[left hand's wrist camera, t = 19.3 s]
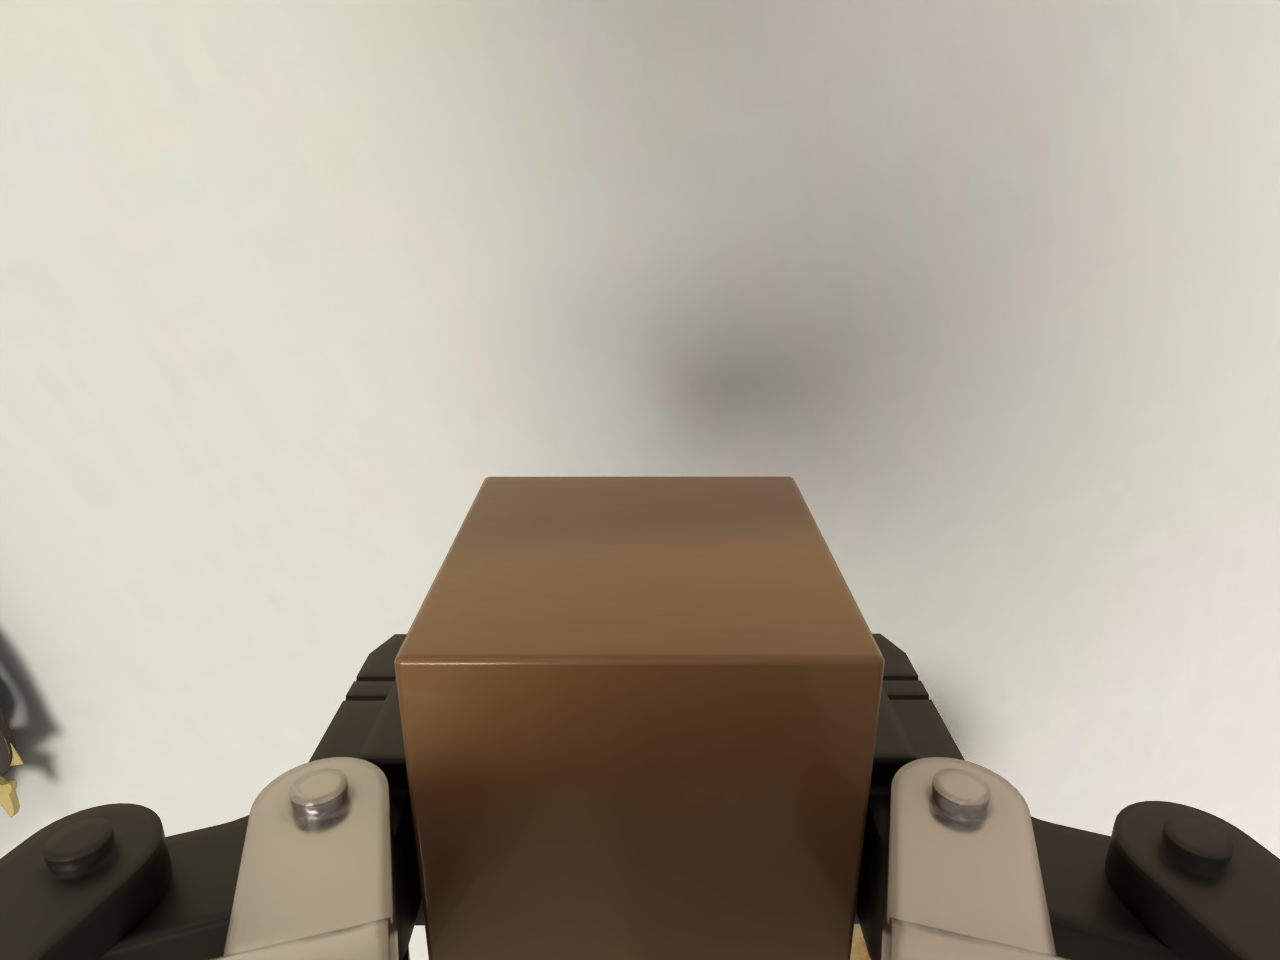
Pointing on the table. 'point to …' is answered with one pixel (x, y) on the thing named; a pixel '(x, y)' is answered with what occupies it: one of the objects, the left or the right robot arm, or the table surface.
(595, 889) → the brown wooden block
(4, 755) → the toy gun
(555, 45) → the table surface
